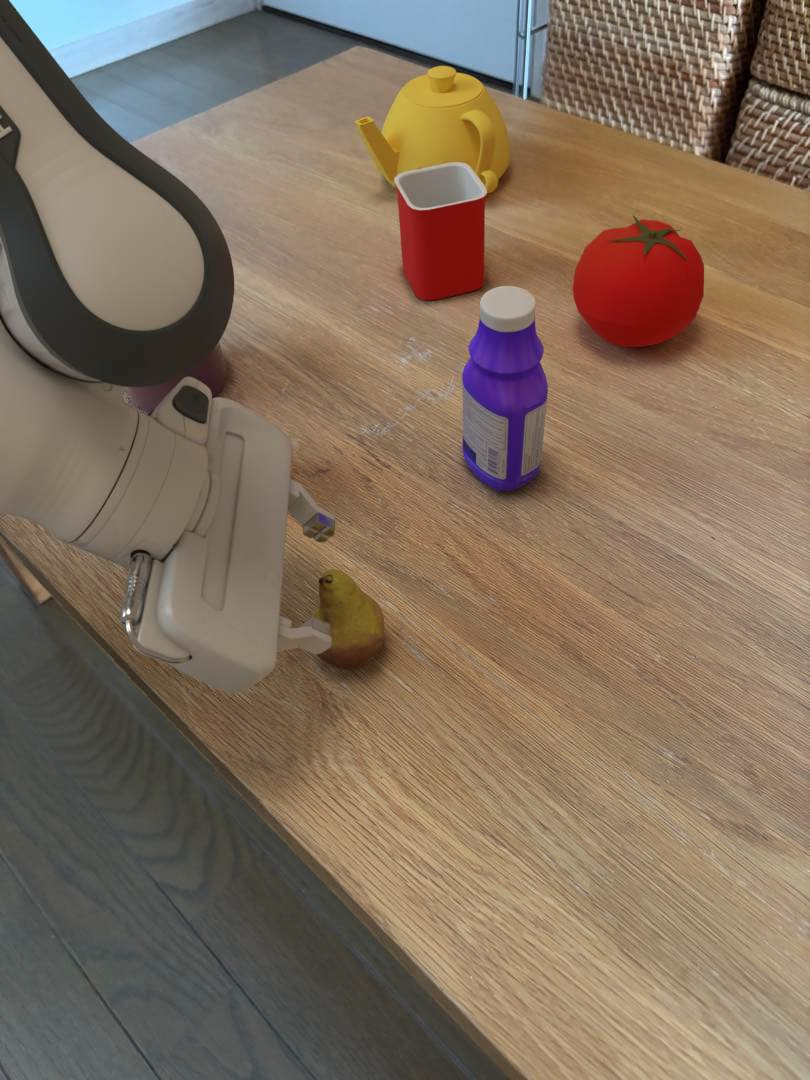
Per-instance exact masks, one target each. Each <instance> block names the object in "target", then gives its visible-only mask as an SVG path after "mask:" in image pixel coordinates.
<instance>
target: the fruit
mask: <svg viewBox="0 0 810 1080" xmlns="http://www.w3.org/2000/svg"><path fill="white" fill-rule="evenodd" d="M317 581H318V597H319V605H318V607H317V608H316V610H315V612H314V615H313V616H314V617H316V618H319V619H321V620H322V621H323V622H324V623H326V622H328V623H330V624H331V625H332V646H331V647H330V648H329V649H327V650H326V651H324V652H323V653H321V654H317V656H318V657H319V658H320V659H322V660H323V662H325V663H326V664H328V665H330V666H331V667H333V668H337V669H341V670H349V669H354V668H357V667H360V666H362V665H364V664H366V663H368V662H370V661H371V660H373V658H375V657H376V656H377V655H378V654H379V653H380V651H382V648H383V646H384V643H385V619H384V618H385V617H384V613H383V610H382V608H381V606H380V605H379V603H378V602H377V601H376V600H375V599H374V598H373V597H372V596H370V595H369V594H368V593H365V592H364V591H363V590H362V588H361V587H360V586H359V584H357V583H356V582H355V579H353V578H352V577H351V576H350V575H349V574H348V573H346V572H344V571H343V570H340V569H334V568H333V569H327V570H326V571H324V572H323V573H322V574H321V575H320V577H319V578H318V580H317Z"/></svg>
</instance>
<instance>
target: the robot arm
mask: <svg viewBox="0 0 810 1080" xmlns="http://www.w3.org/2000/svg"><path fill="white" fill-rule="evenodd" d="M234 272H235V271H234V265H233V260H232V256H231V252H230V248H229V245H228V243H227V240H226V237H225V235H224V233H223V230H222V228H221V227H220V225H219V223H218V221H217V220H216V218H215V216H214V215H213V213H212V211H210V209H209V208H208V207H207V205H206V204H205V203H204V202H203V201H202V199H200V197H199V196H198V195H197V194H196V193H195V192H194V191H193V190H192V189H191V188H190V187H189V186H188V185H187V184H185V183H184V182H183V181H182V180H180V179H179V178H178V177H176V175H174V174H173V173H172V172H171V171H169V170H167V169H166V168H164V167H163V166H162V165H160V164H159V163H158V162H156V161H155V160H153V159H152V158H150V157H149V156H148V155H147V154H145V153H143V152H142V151H141V150H139V149H138V148H137V147H135V146H134V145H133V144H132V143H130V142H129V141H128V140H127V139H125V138H124V137H123V136H122V135H120V133H118V132H117V131H116V130H115V129H114V128H113V127H112V126H111V125H110V124H109V123H108V122H107V121H105V119H104V118H103V117H102V116H101V115H100V113H98V112H97V111H96V109H95V108H94V107H93V106H92V104H90V103H89V101H88V100H87V99H86V97H84V94H82V92H80V90H79V89H78V88H77V86H76V85H75V83H73V81H72V80H71V78H70V77H69V76H68V74H67V73H66V72H65V71H64V69H63V68H62V67H61V65H60V64H59V62H58V61H57V60H56V58H54V56H53V55H52V54H51V52H50V51H49V50H48V49H47V47H46V46H45V44H44V43H43V42H42V41H41V39H40V38H39V37H38V35H37V34H36V33H35V32H34V30H33V29H32V28H31V27H30V26H29V24H28V23H27V21H26V20H25V19H24V18H23V16H22V15H21V14H20V12H19V11H18V10H17V8H16V7H15V6H14V4H13V3H12V1H10V0H0V514H3V515H11V516H16V517H20V518H24V519H27V520H29V521H31V522H33V523H35V524H37V525H39V526H40V527H42V528H43V529H45V530H46V531H47V532H48V533H50V534H51V535H52V536H53V537H55V538H56V539H58V540H59V541H61V542H63V543H65V544H68V545H70V546H73V547H75V548H78V549H79V550H81V551H85V552H87V553H89V554H91V555H93V556H96V557H99V558H101V559H103V560H106V561H108V562H110V563H113V564H115V565H118V566H120V567H122V568H125V569H127V570H128V573H127V578H126V588H125V594H124V598H123V599H122V600H121V605H120V608H119V621H120V623H121V624H122V625H124V628H125V632H126V635H127V637H128V639H129V642H131V643H132V647H133V649H135V650H136V652H138V653H140V654H141V655H143V656H146V657H148V658H151V659H154V660H156V661H160V662H162V663H165V664H167V665H169V666H171V667H172V668H174V669H176V670H178V671H180V672H181V673H183V674H185V675H187V676H189V677H190V678H193V679H194V680H197V681H199V682H201V683H203V684H205V685H206V686H210V687H211V688H214V689H216V690H218V691H221V692H223V693H226V694H230V695H235V694H239V693H242V692H244V691H247V690H248V689H250V688H251V687H254V686H255V685H256V684H258V683H260V682H262V680H263V679H265V678H266V677H267V676H269V675H270V674H271V673H272V672H273V671H274V670H275V668H276V665H277V657H278V653H280V652H284V651H290V650H295V649H297V648H298V649H301V650H303V651H306V652H308V653H310V654H313V655H318V654H321V653H323V652H324V651H326V650H327V649H329V648H330V647H331V646H332V625H331V624H330V623H328V622H326V623H324V622H323V621H322V620H321V619H319V618H316V617H314V615H313V616H311V617H310V618H308V619H307V620H306V621H305V623H302V624H300V625H299V626H298V627H293V628H291V627H292V620H291V619H289V618H287V617H285V616H283V615H281V605H282V604H281V603H282V590H283V576H284V567H285V566H284V565H285V553H286V552H285V551H286V539H287V526H288V513H289V514H290V515H291V517H293V518H294V519H295V520H296V521H297V523H299V524H300V525H301V526H302V535H303V536H305V537H307V538H308V539H313V540H314V541H315V542H317V543H321V544H323V543H326V542H327V541H328V540H329V539H330V537H334V535H336V534H335V532H336V516H335V515H334V514H333V513H331V512H329V511H328V510H325V509H323V508H322V507H320V506H319V504H318V503H317V502H316V501H315V500H314V498H313V497H312V496H311V495H310V493H309V492H308V491H307V490H306V489H305V487H304V486H303V485H302V483H300V482H298V481H297V480H294V479H293V478H291V473H292V461H293V460H292V459H293V443H292V441H291V440H290V439H289V437H288V436H287V435H286V433H285V432H284V431H283V429H282V428H281V427H279V426H278V425H277V424H275V423H273V422H272V421H271V420H268V419H267V418H265V417H263V415H260V414H259V413H257V412H255V411H253V410H251V409H249V408H248V407H246V406H244V405H242V404H240V403H238V402H236V401H234V400H232V399H229V398H225V397H220V396H216V397H215V398H213V399H212V393H211V390H210V389H209V388H208V387H207V386H206V385H205V384H203V383H202V382H200V381H198V380H197V379H195V378H192V377H185V378H183V379H182V380H181V381H180V382H179V383H178V384H177V385H176V386H175V387H174V388H173V389H172V390H171V391H170V392H169V394H168V395H167V396H166V397H165V398H164V399H163V400H162V401H161V402H160V403H159V405H158V406H157V407H156V408H155V409H154V410H151V411H150V412H147V414H146V413H145V412H144V411H142V410H139V409H138V408H135V407H133V406H132V405H129V404H128V403H127V402H126V401H125V399H124V395H125V391H126V387H149V386H155V385H160V384H164V383H167V382H170V381H173V380H175V379H178V378H180V377H182V376H184V375H185V374H187V373H189V372H190V371H192V370H193V369H194V368H196V367H197V366H198V365H199V364H201V363H202V362H203V361H204V360H205V359H206V358H207V357H208V356H209V355H210V353H211V352H212V351H213V350H214V348H215V347H216V345H217V344H218V342H220V341H221V339H222V337H223V336H224V333H225V331H226V330H227V326H228V324H229V321H230V317H231V314H232V312H233V311H232V310H233V305H234V299H235V273H234ZM134 626H135V628H134Z"/></svg>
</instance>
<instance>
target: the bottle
mask: <svg viewBox="0 0 810 1080" xmlns="http://www.w3.org/2000/svg"><path fill="white" fill-rule="evenodd" d="M544 348H545V347H544V345H543V342H542V340H541V339H540V338H539V336H538V333H537V329H536V299H535V296H534V295H533V294H532V293H531V292H530V291H528V290H527V289H524V288H522V287H520V286H515V285H513V286H512V285H502V286H501V285H500V286H497V287H494V288H491V289H489V290H488V291H486V292H485V293H484V294H483V295H482V296H481V299H480V301H479V320H478V327H477V330H476V332H475V335H474V336H473V337H472V339H470V342H469V343H468V354H469V356H470V357H469V358H468V360H467V361H466V363H465V365H464V367H463V370H462V375H461V381H462V383H461V384H462V448H461V449H462V454H463V457H464V460H465V463H466V464H467V466H468V468H469V469H470V471H471V472H472V473H473V474H474V475H475V477H477V479H479V480H480V482H482V483H484V484H485V485H486V486H488V487H490V488H492V489H494V490H495V491H499V492H504V493H505V492H510V491H511V492H512V491H513V490H517V489H519V488H521V487H522V486H525V485H527V483H530V482H531V481H532V480H533V479H534V478H535V477H536V476H537V475H538V473H539V471H540V470H541V465H542V457H543V448H544V447H543V446H544V438H545V427H546V426H545V425H546V416H547V415H546V413H547V404H548V393H549V385H548V380H547V376H546V373H545V370H544V368H543V365H542V363H541V361H542V359H543V356H544V352H545V350H544Z"/></svg>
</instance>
